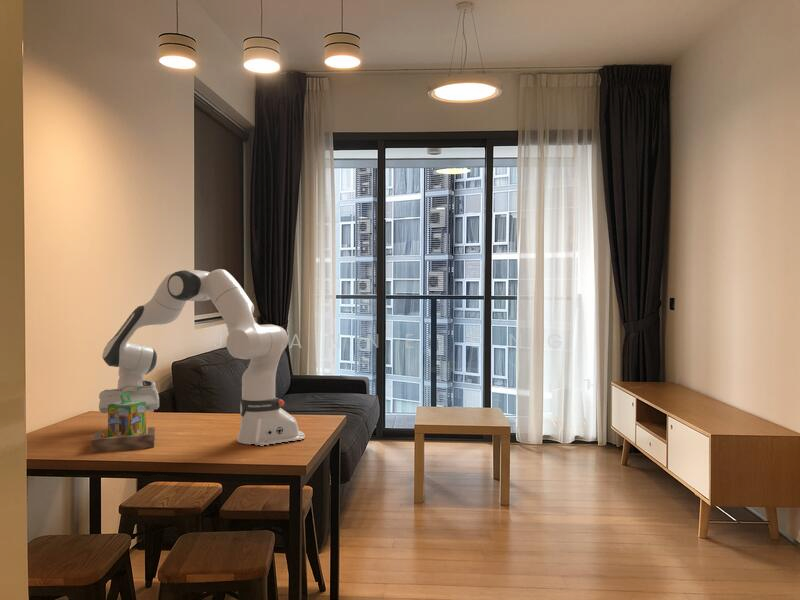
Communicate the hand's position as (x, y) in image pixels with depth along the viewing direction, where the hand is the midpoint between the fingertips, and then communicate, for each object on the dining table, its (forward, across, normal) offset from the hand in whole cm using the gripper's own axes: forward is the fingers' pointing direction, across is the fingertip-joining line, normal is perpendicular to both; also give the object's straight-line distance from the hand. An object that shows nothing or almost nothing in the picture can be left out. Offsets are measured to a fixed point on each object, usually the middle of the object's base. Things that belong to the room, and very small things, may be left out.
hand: (129, 419), depth 214 cm
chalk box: (+8, 0, -2) cm, 8 cm away
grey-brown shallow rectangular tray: (+18, 0, -12) cm, 22 cm away
